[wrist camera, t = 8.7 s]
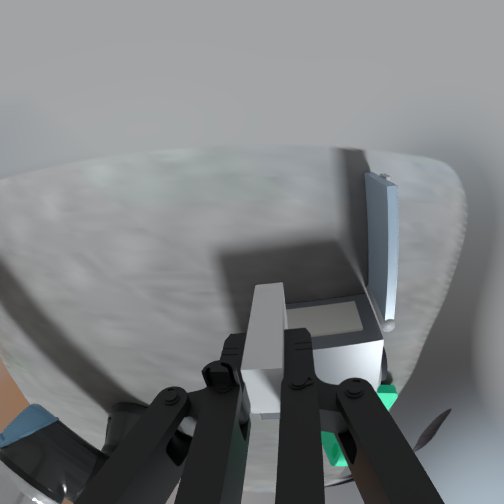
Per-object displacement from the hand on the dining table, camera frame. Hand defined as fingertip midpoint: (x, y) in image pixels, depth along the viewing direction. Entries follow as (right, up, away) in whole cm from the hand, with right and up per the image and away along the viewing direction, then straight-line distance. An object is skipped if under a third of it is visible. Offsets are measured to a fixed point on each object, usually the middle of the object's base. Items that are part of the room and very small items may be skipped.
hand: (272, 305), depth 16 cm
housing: (+6, -7, +15) cm, 18 cm away
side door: (+10, +4, +10) cm, 15 cm away
